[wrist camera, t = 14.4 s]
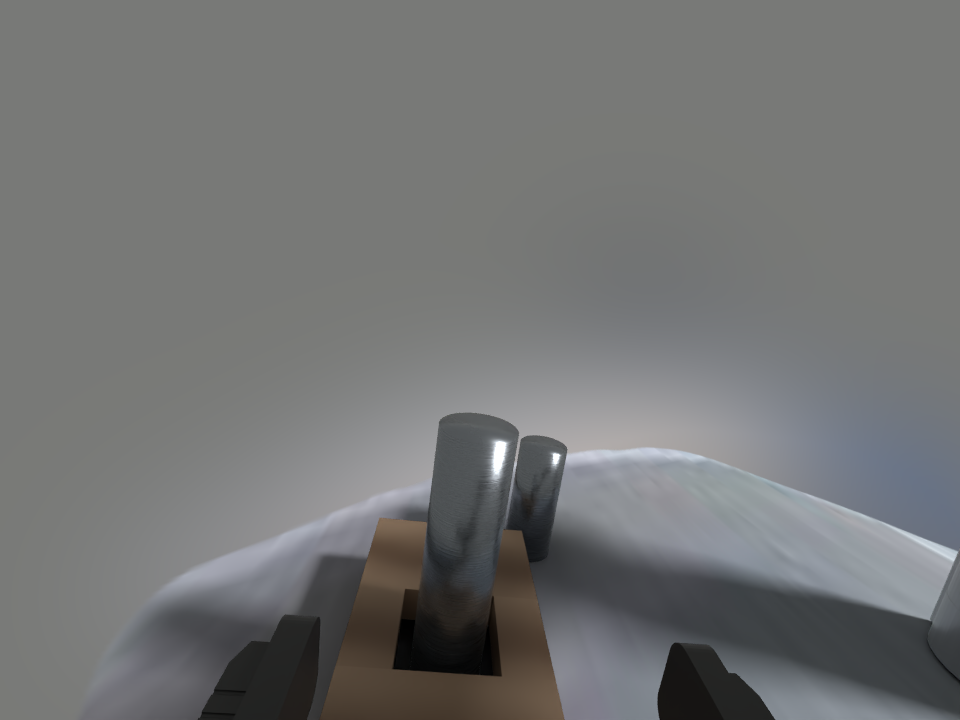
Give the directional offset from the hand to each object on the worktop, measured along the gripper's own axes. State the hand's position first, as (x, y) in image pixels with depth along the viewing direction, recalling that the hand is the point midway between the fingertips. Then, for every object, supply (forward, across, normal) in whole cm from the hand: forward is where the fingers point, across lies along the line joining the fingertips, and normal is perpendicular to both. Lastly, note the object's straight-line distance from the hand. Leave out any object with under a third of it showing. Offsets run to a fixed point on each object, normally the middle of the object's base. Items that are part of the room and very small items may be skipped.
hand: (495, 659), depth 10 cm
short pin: (+24, -6, +14) cm, 28 cm away
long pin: (+11, 0, +14) cm, 17 cm away
